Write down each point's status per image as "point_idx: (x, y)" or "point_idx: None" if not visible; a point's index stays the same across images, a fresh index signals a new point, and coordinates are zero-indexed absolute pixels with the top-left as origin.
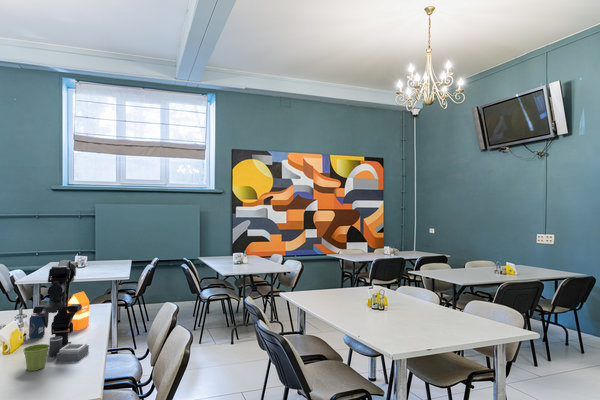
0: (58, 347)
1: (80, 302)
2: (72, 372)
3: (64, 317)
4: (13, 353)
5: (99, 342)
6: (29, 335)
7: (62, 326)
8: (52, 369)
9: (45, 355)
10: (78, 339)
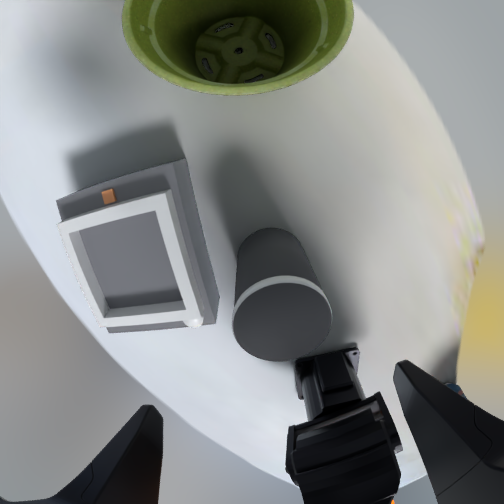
0: (240, 270)
1: None
2: (33, 71)
3: (331, 497)
4: (470, 259)
5: (182, 406)
6: (459, 387)
7: (326, 444)
8: (131, 60)
9: (165, 41)
10: (293, 421)
